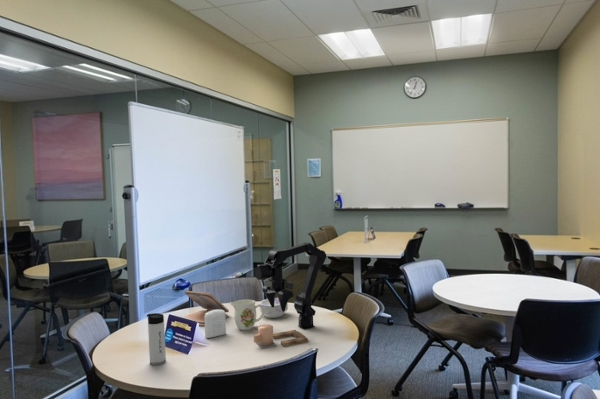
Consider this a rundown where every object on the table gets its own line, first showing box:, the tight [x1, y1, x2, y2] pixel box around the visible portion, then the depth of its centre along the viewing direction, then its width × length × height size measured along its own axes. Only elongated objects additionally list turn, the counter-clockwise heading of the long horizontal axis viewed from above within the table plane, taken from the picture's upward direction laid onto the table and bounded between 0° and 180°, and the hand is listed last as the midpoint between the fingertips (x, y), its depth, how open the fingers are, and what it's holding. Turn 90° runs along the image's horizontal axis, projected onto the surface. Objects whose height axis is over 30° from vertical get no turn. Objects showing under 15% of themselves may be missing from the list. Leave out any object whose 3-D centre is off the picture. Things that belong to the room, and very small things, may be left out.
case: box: [183, 290, 230, 327], centre depth 234 cm, size 20×21×16 cm
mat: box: [255, 341, 277, 350], centre depth 193 cm, size 7×9×1 cm
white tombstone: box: [204, 310, 227, 339], centre depth 206 cm, size 10×4×12 cm, turn 123°
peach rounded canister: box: [253, 323, 274, 346], centre depth 192 cm, size 10×7×8 cm
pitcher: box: [228, 298, 265, 331], centre depth 216 cm, size 11×18×14 cm, turn 115°
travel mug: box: [146, 312, 167, 366], centre depth 177 cm, size 6×7×20 cm
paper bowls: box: [259, 297, 289, 319], centre depth 235 cm, size 15×15×8 cm
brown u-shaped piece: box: [273, 329, 309, 348], centre depth 198 cm, size 12×14×2 cm
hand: (278, 309), depth 205 cm, fingers open, 9 cm apart
